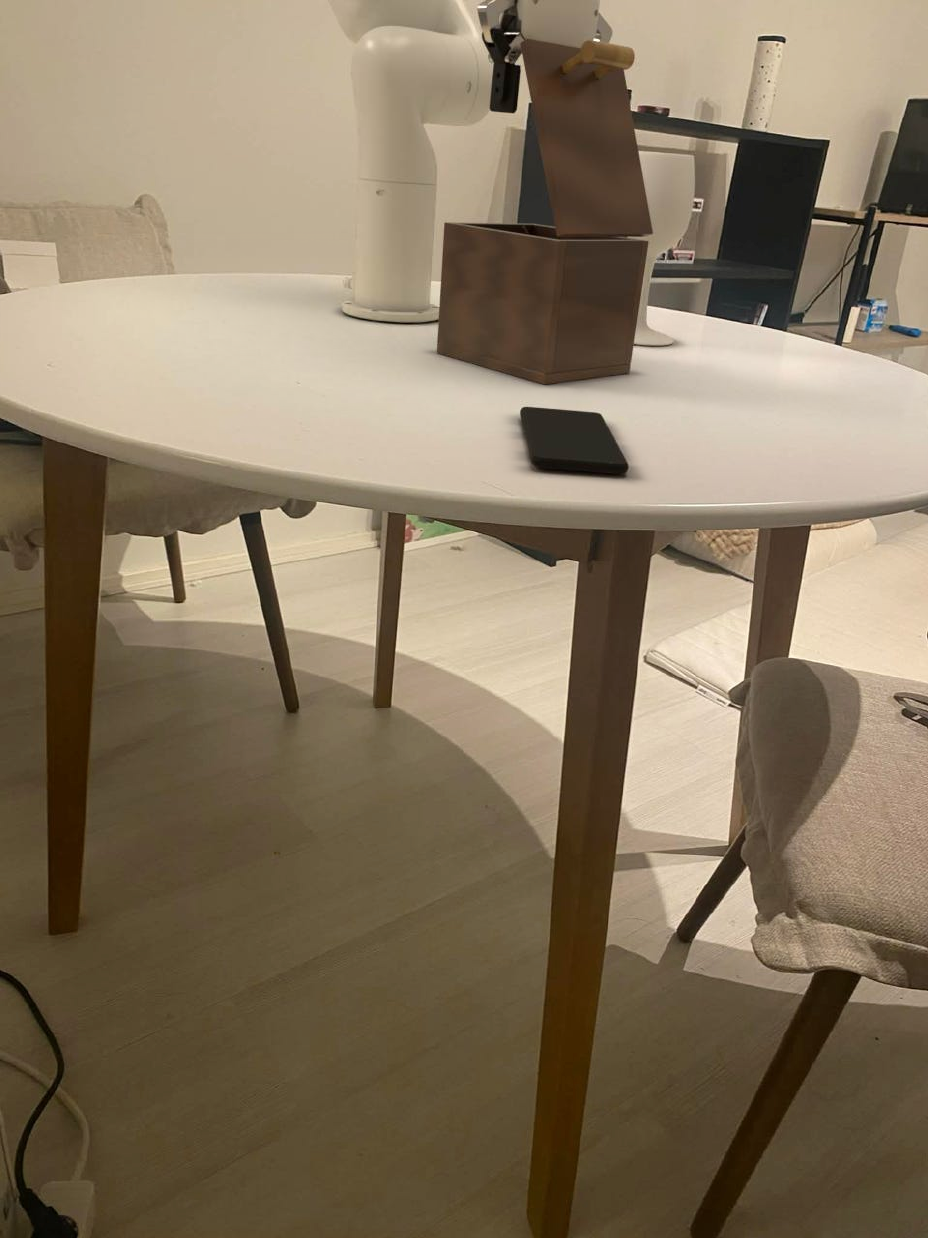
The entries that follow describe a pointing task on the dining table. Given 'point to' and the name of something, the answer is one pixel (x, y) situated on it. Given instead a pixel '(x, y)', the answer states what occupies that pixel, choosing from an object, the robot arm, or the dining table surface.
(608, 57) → the lid
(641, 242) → the chest
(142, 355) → the dining table surface
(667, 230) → the wineglass
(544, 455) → the smartphone
